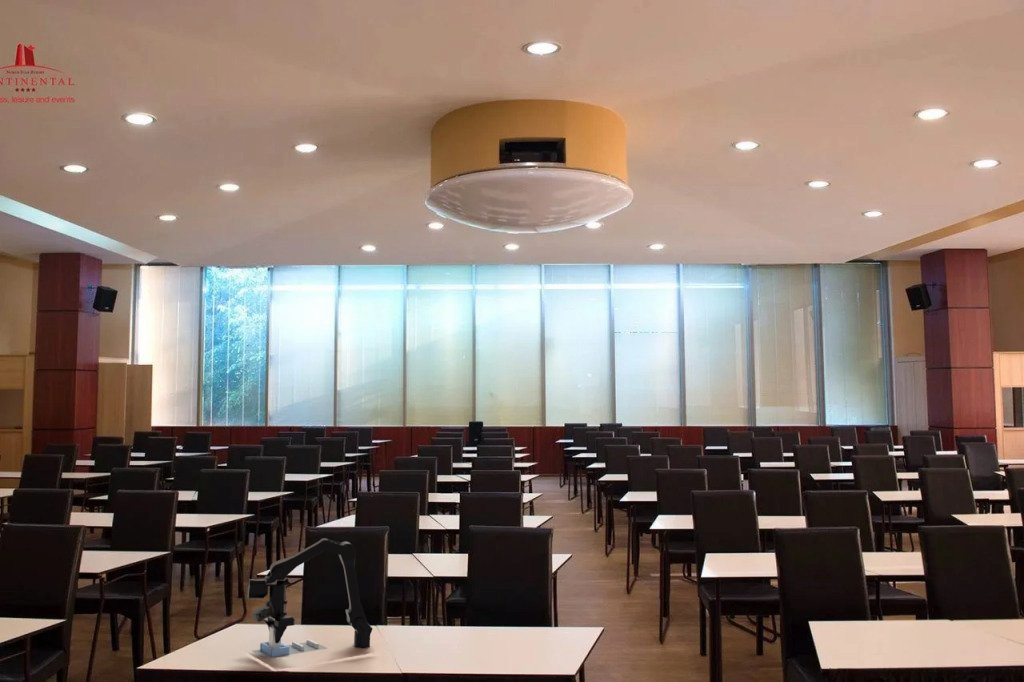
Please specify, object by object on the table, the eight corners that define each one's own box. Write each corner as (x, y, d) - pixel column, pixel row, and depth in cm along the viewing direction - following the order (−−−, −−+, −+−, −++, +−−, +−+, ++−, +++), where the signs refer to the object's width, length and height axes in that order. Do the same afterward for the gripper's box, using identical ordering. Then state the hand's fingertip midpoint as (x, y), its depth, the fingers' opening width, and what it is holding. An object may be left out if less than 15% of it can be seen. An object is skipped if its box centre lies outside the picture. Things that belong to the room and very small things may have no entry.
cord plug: (280, 647, 306) (281, 625, 306) (272, 649, 304) (273, 626, 304) (277, 646, 308) (278, 623, 309) (268, 647, 306) (269, 624, 307)
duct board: (327, 650, 312) (327, 641, 313) (265, 661, 297) (265, 651, 297) (312, 643, 321) (313, 634, 322) (251, 653, 306) (252, 643, 307)
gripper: (245, 595, 310) (243, 639, 308) (266, 604, 295) (264, 651, 294) (274, 592, 317) (272, 635, 315) (296, 601, 302) (294, 646, 301)
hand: (275, 641), depth 306 cm, fingers closed on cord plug, 3 cm apart
